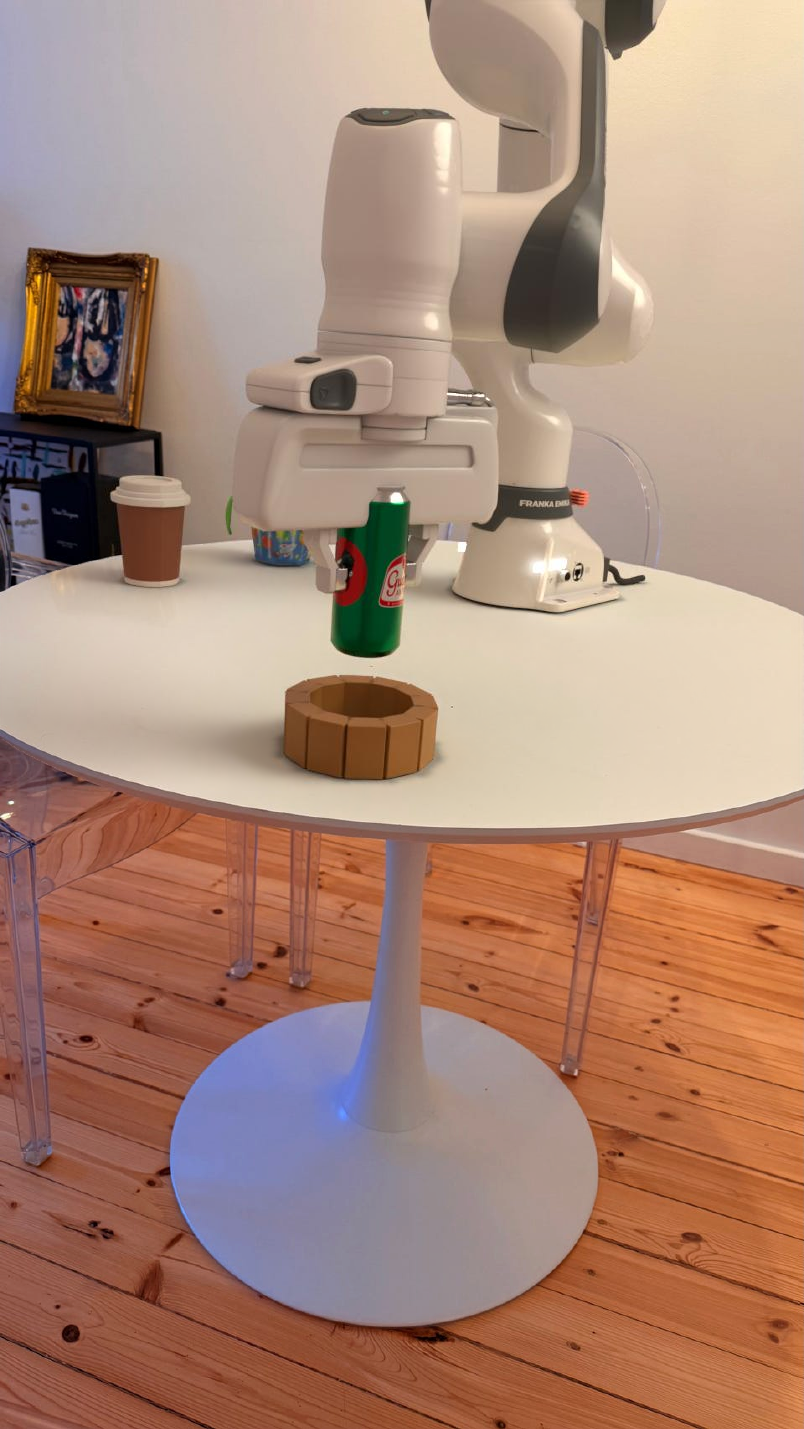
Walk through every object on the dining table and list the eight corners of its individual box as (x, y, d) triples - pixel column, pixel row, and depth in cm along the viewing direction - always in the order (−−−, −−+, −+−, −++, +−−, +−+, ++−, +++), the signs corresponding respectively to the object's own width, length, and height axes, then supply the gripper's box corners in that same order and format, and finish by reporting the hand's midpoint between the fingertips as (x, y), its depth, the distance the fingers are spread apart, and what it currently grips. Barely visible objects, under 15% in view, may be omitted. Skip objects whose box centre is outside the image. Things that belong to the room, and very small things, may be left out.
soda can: (391, 663, 69) (404, 490, 65) (321, 654, 70) (330, 482, 66) (405, 645, 74) (418, 482, 70) (340, 636, 75) (349, 474, 71)
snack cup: (338, 556, 141) (342, 484, 138) (341, 573, 131) (346, 495, 128) (227, 550, 139) (228, 477, 136) (222, 566, 129) (223, 488, 126)
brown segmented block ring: (376, 713, 82) (379, 668, 81) (462, 762, 74) (467, 711, 72) (256, 735, 76) (257, 686, 74) (335, 791, 67) (338, 736, 66)
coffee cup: (97, 583, 116) (94, 479, 112) (135, 569, 124) (133, 471, 120) (169, 593, 114) (169, 488, 110) (202, 578, 123) (203, 479, 119)
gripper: (470, 387, 74) (453, 569, 79) (222, 372, 62) (219, 588, 67) (528, 394, 69) (506, 587, 74) (272, 380, 57) (265, 611, 62)
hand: (368, 588), depth 70 cm, fingers closed on soda can, 5 cm apart
